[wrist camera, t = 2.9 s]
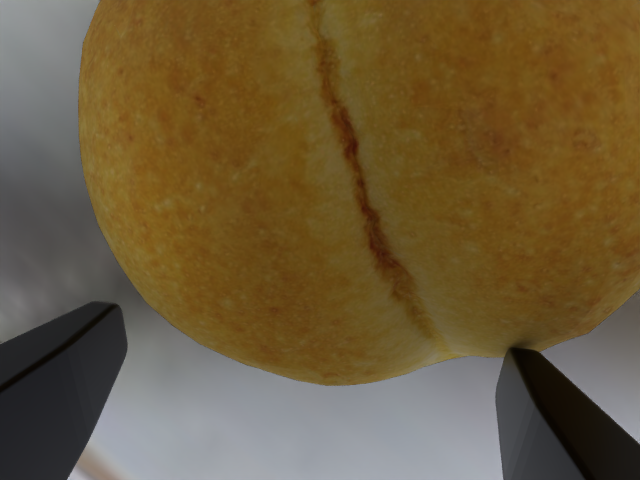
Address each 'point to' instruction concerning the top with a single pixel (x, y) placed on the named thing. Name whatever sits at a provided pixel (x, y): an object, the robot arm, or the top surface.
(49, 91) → the top surface
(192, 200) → the bread roll
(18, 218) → the top surface
